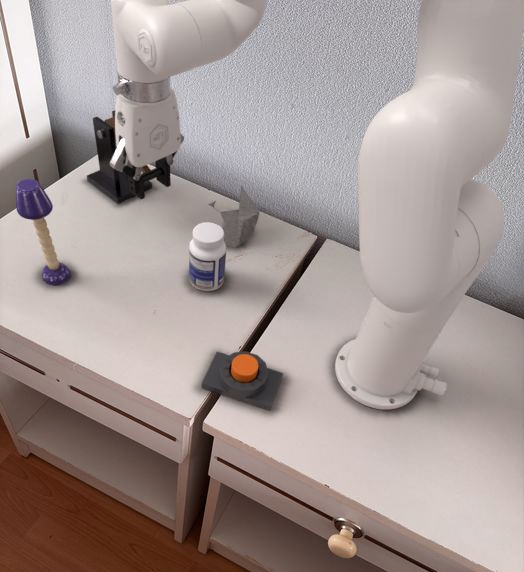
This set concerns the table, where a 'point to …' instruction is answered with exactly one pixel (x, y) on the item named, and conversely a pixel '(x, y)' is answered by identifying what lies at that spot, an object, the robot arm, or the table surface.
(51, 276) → the toy lamp
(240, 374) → the button
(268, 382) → the button box
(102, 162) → the bracket
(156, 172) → the lever
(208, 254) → the pill bottle
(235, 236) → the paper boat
